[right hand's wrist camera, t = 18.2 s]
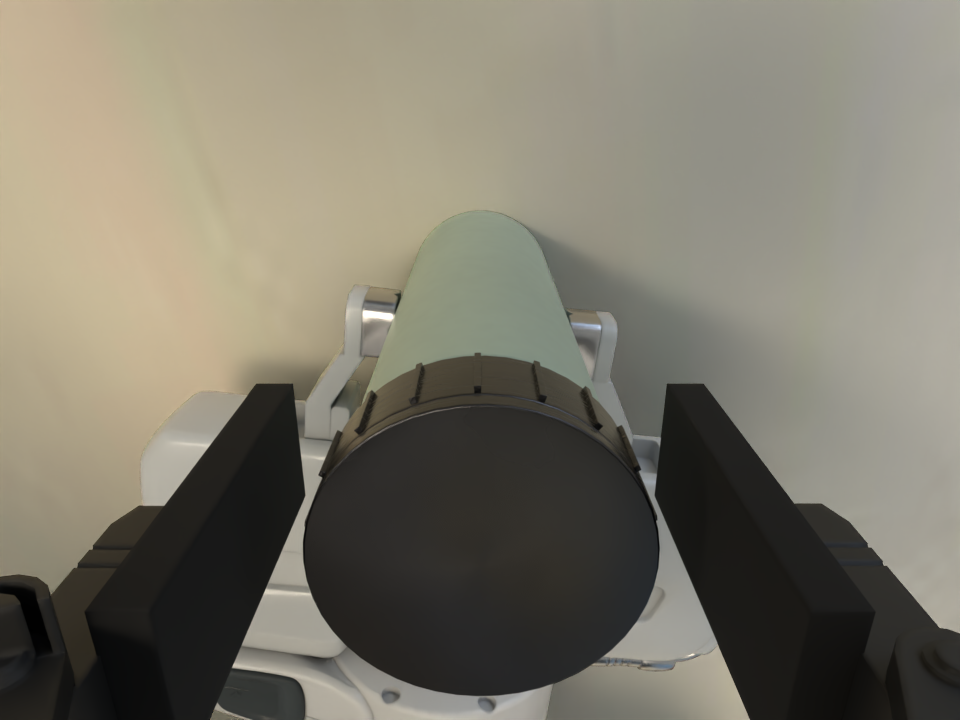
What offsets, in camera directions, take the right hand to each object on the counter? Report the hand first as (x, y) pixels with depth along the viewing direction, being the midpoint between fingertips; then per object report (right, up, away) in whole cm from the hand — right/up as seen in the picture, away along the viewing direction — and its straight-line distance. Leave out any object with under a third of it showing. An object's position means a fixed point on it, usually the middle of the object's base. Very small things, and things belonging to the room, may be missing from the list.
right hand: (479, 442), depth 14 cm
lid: (0, -1, -3) cm, 4 cm away
